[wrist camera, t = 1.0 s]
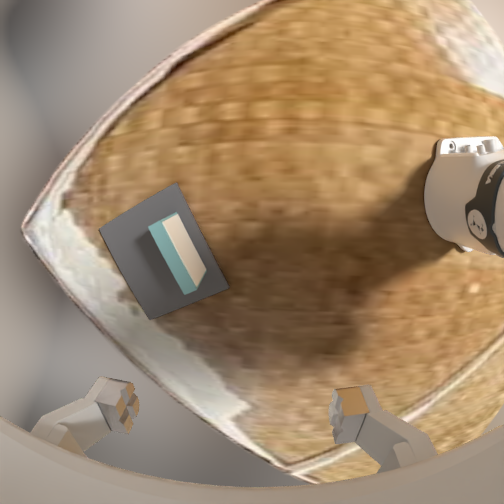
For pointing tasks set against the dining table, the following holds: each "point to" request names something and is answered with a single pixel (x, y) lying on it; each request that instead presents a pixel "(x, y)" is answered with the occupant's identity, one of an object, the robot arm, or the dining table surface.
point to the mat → (158, 254)
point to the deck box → (179, 252)
